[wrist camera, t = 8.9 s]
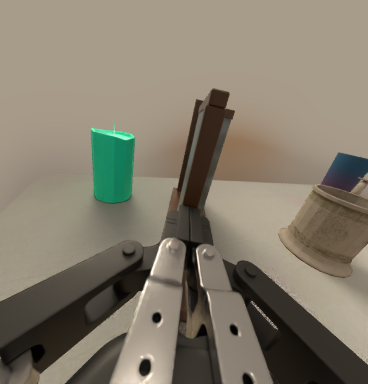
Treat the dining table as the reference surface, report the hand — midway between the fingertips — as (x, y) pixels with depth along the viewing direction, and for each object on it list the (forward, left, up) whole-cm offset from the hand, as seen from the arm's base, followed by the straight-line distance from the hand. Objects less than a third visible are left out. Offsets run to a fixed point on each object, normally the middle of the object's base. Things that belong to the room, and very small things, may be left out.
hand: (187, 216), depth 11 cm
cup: (+39, +28, -8) cm, 49 cm away
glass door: (0, +6, -6) cm, 8 cm away
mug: (+24, +11, -8) cm, 28 cm away
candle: (-12, +14, -8) cm, 20 cm away
